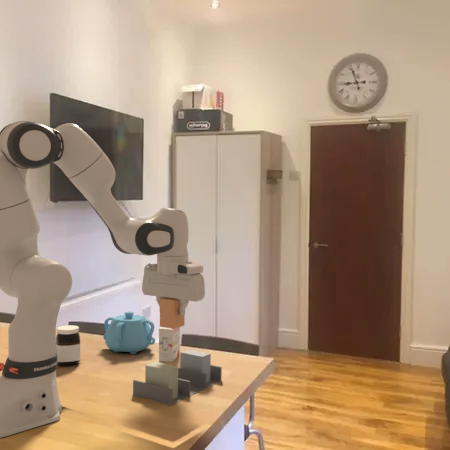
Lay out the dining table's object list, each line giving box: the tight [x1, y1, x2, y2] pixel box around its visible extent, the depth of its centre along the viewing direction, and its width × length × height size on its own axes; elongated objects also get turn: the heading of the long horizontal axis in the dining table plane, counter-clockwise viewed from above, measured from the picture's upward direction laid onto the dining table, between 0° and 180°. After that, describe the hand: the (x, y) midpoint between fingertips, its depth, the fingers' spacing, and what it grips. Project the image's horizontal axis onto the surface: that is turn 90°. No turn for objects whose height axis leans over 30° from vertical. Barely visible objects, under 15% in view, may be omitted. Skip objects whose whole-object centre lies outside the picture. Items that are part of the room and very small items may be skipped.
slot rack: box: [132, 364, 223, 406], centre depth 151 cm, size 23×13×5 cm, turn 147°
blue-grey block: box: [179, 348, 212, 382], centre depth 157 cm, size 4×8×8 cm, turn 57°
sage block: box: [144, 361, 179, 399], centre depth 145 cm, size 4×8×8 cm, turn 57°
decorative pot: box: [103, 311, 156, 355], centre depth 192 cm, size 16×16×14 cm
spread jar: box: [55, 324, 81, 367], centre depth 176 cm, size 12×11×12 cm
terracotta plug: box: [159, 298, 186, 329], centre depth 154 cm, size 5×5×8 cm
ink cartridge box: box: [158, 327, 181, 363], centre depth 180 cm, size 9×5×15 cm, turn 168°
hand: (172, 313), depth 154 cm, fingers closed on terracotta plug, 5 cm apart
